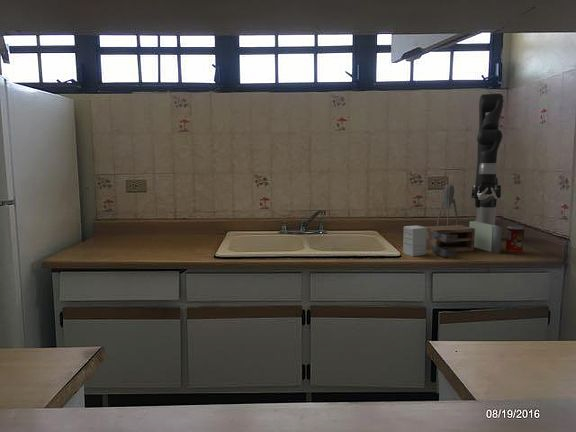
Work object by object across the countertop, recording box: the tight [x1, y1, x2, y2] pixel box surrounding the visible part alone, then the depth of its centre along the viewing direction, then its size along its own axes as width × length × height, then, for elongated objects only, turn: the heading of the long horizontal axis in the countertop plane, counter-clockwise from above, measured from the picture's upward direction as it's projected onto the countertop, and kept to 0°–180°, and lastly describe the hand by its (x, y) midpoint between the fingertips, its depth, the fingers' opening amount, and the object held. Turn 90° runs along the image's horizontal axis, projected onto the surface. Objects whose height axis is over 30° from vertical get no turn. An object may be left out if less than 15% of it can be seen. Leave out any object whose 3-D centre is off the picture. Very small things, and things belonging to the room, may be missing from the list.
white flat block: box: [468, 220, 503, 254], centre depth 212 cm, size 4×20×12 cm, turn 14°
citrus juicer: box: [436, 183, 459, 226], centre depth 225 cm, size 11×10×30 cm
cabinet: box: [424, 224, 475, 258], centre depth 206 cm, size 21×22×10 cm
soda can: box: [505, 224, 525, 255], centre depth 204 cm, size 7×7×12 cm
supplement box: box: [402, 225, 427, 257], centre depth 201 cm, size 7×7×13 cm
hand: (485, 207), depth 211 cm, fingers open, 8 cm apart
